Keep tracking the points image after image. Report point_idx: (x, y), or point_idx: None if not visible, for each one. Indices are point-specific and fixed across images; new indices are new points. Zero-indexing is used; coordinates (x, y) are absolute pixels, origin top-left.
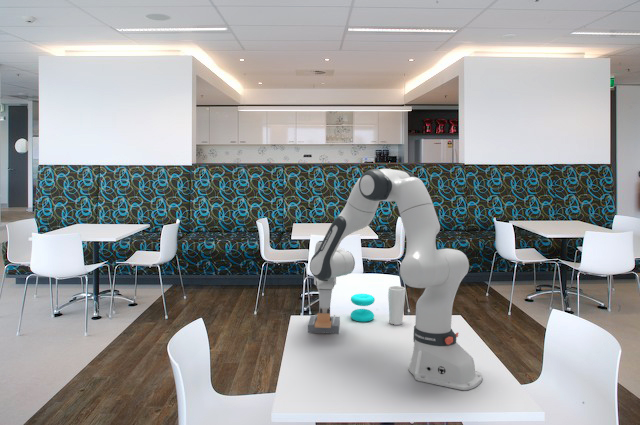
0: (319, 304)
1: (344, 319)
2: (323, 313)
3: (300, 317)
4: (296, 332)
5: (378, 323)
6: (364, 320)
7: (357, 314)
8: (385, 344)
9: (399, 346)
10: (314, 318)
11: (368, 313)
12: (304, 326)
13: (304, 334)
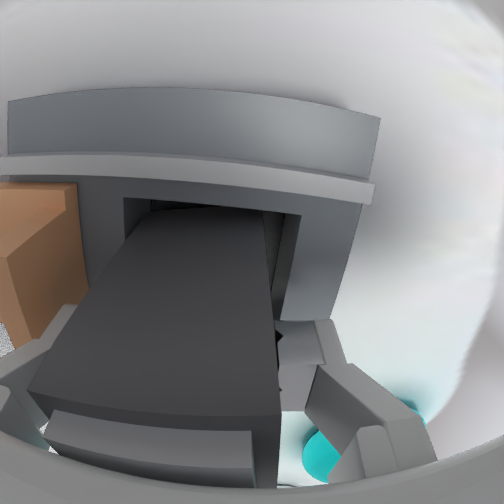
0: (202, 391)
1: (381, 375)
2: (22, 334)
3: (490, 57)
4: (58, 5)
5: (280, 468)
6: (303, 451)
7: (334, 457)
8: (44, 431)
9: (49, 447)
10: (173, 163)
11: (327, 482)
12: (224, 41)
13: (17, 81)
